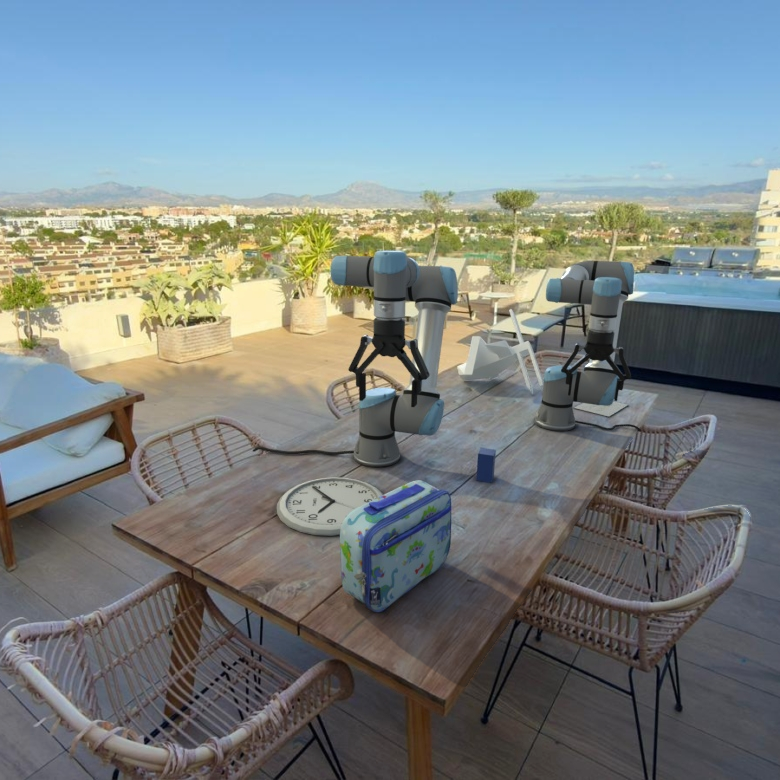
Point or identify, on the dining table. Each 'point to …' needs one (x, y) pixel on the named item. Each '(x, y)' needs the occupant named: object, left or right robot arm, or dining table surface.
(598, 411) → the invitation card
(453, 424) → the dining table surface
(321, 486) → the wall clock
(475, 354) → the white plastic object
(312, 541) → the dining table surface
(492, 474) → the block
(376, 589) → the lunch box
